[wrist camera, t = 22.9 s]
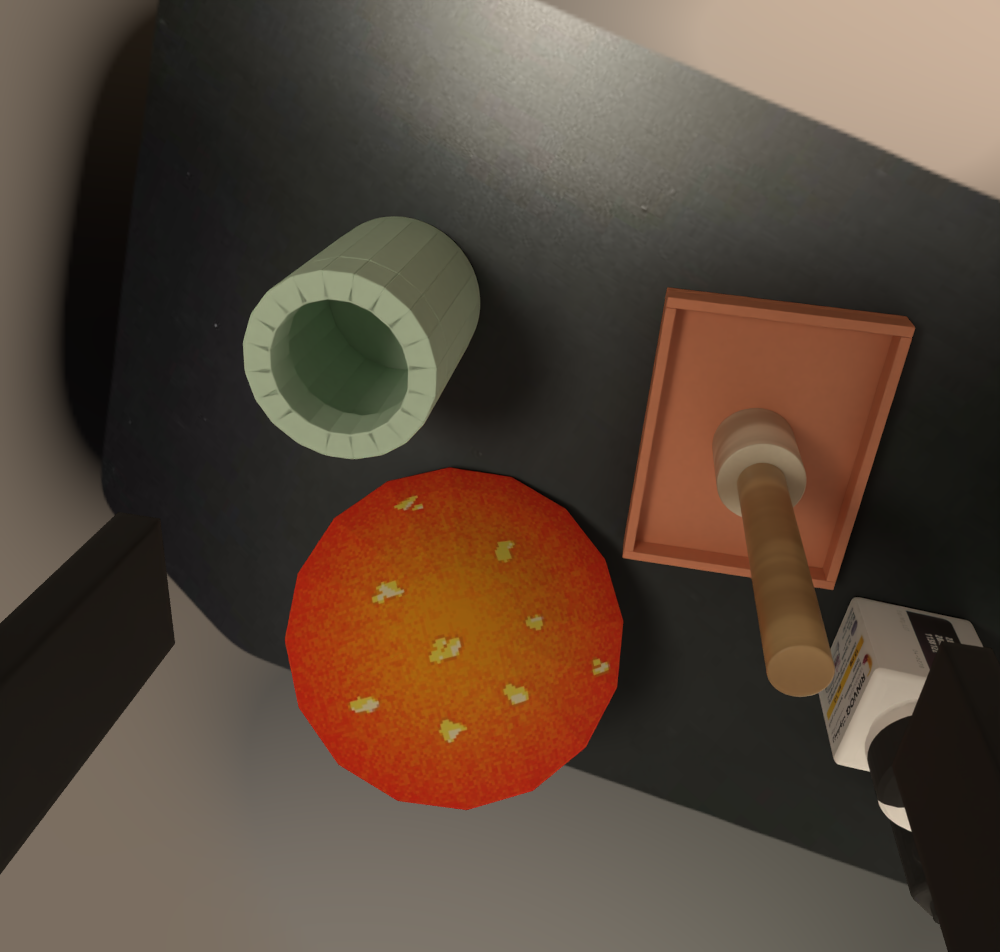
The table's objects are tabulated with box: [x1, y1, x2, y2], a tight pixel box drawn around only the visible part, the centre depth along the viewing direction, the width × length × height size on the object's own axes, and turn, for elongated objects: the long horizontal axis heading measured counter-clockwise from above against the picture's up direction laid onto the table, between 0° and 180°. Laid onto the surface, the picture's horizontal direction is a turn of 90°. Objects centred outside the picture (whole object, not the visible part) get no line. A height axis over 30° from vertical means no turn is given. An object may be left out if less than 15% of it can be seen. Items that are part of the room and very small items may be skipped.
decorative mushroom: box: [285, 467, 623, 810], centre depth 55 cm, size 15×21×15 cm
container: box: [819, 597, 983, 832], centre depth 54 cm, size 8×8×13 cm
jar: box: [243, 216, 480, 459], centre depth 48 cm, size 10×10×12 cm
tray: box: [623, 287, 915, 590], centre depth 53 cm, size 17×13×2 cm
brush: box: [712, 408, 835, 697], centre depth 45 cm, size 5×5×21 cm
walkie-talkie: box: [890, 820, 939, 924], centre depth 58 cm, size 5×3×15 cm
